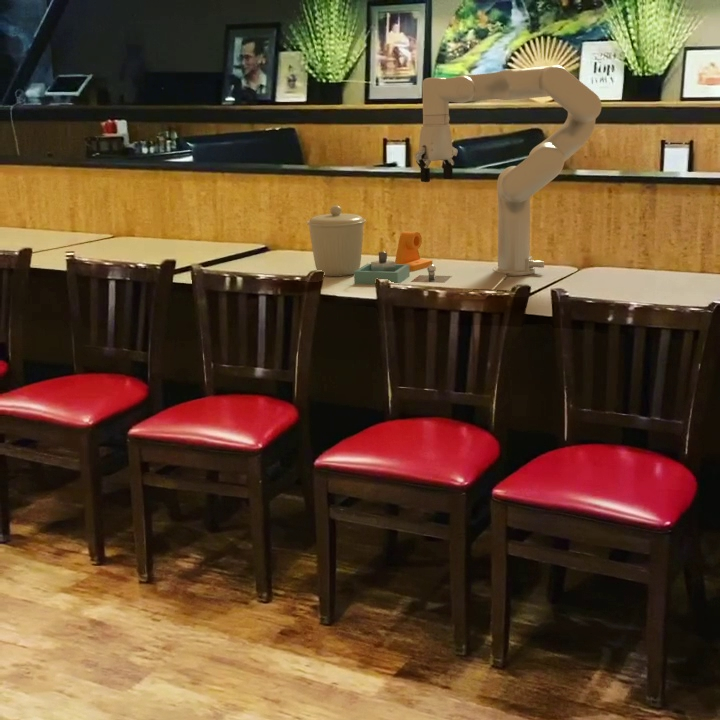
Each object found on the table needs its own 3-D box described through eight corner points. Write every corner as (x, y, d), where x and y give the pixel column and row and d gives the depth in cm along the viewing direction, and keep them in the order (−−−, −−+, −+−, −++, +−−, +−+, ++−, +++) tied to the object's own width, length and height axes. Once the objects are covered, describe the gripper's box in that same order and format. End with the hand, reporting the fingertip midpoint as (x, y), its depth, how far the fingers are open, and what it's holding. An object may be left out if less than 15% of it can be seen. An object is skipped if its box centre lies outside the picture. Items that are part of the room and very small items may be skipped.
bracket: (413, 274, 321) (413, 235, 317) (394, 272, 325) (393, 233, 322) (433, 268, 329) (433, 230, 326) (414, 266, 333) (414, 229, 330)
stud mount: (452, 279, 310) (452, 262, 309) (444, 285, 301) (444, 268, 300) (419, 278, 313) (419, 261, 312) (410, 284, 304) (410, 267, 303)
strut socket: (383, 277, 312) (383, 250, 310) (395, 279, 308) (394, 251, 306) (371, 279, 308) (370, 252, 306) (383, 281, 305) (382, 254, 303)
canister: (379, 273, 324) (377, 204, 318) (332, 281, 313) (330, 211, 307) (343, 266, 337) (340, 200, 332) (297, 274, 327) (294, 206, 321)
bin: (409, 279, 312) (409, 264, 311) (397, 288, 300) (397, 272, 299) (367, 278, 316) (367, 263, 315) (354, 286, 304) (354, 271, 303)
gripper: (446, 119, 315) (447, 177, 319) (405, 122, 304) (407, 182, 308) (465, 119, 310) (465, 178, 314) (424, 123, 298) (425, 183, 303)
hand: (436, 180), depth 311 cm, fingers open, 9 cm apart
